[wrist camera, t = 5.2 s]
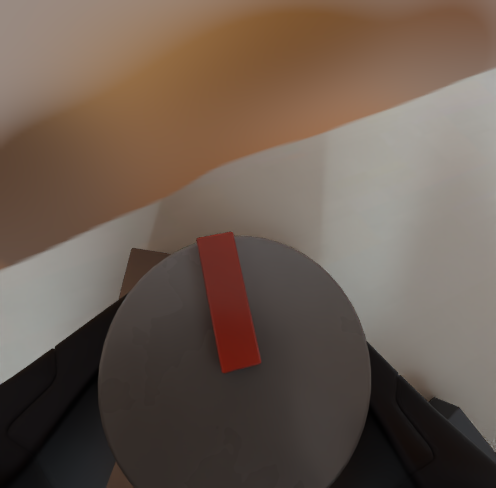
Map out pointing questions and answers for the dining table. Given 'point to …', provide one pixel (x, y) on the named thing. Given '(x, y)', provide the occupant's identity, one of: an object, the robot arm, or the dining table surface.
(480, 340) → the dining table surface
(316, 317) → the grey cylinder with pointer
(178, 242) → the dining table surface
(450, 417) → the button box
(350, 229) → the dining table surface
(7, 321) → the dining table surface
